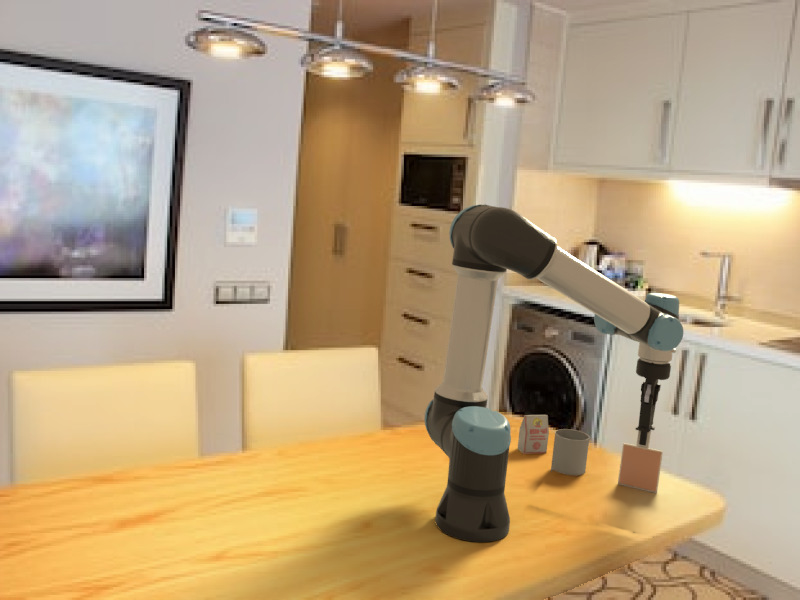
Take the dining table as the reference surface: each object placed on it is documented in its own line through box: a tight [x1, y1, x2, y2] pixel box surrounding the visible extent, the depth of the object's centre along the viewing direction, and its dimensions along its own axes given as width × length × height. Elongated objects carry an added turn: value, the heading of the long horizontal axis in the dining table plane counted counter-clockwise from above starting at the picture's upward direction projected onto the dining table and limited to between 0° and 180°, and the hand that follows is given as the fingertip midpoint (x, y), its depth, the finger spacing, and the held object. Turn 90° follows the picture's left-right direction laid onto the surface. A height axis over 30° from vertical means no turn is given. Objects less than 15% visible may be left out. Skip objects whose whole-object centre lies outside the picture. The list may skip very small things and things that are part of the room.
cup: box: [550, 428, 590, 476], centre depth 187 cm, size 8×8×10 cm
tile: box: [617, 442, 664, 494], centre depth 178 cm, size 10×9×1 cm
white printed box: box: [517, 414, 550, 455], centre depth 200 cm, size 4×7×10 cm, turn 107°
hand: (641, 456), depth 178 cm, fingers closed
